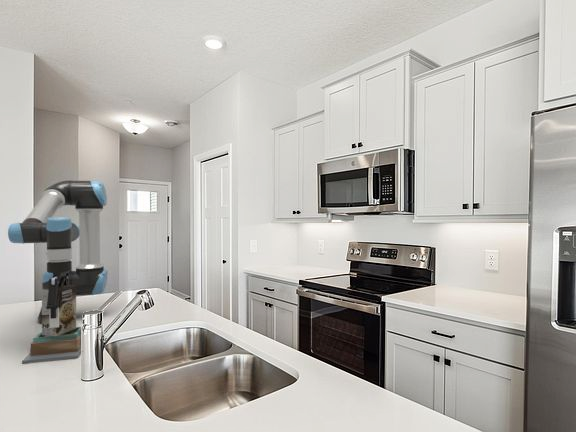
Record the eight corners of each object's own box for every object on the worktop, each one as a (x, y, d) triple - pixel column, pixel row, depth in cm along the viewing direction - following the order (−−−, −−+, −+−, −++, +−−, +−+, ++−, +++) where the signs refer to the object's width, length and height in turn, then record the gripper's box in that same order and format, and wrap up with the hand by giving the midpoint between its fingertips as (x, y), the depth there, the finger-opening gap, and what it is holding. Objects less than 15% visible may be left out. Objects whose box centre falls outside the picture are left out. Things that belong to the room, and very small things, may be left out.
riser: (43, 344, 134) (43, 329, 134) (86, 340, 138) (85, 325, 138) (30, 356, 122) (30, 339, 122) (77, 351, 126) (77, 335, 126)
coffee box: (57, 336, 125) (56, 289, 125) (41, 335, 126) (40, 289, 126) (77, 328, 134) (77, 284, 134) (62, 327, 135) (61, 283, 135)
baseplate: (44, 343, 138) (44, 340, 138) (91, 339, 142) (91, 336, 142) (21, 364, 118) (21, 360, 118) (77, 358, 123) (77, 355, 123)
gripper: (57, 257, 140) (58, 315, 140) (34, 265, 118) (35, 333, 118) (79, 256, 142) (80, 313, 142) (60, 264, 120) (61, 331, 120)
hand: (59, 322), depth 130 cm, fingers open, 11 cm apart
